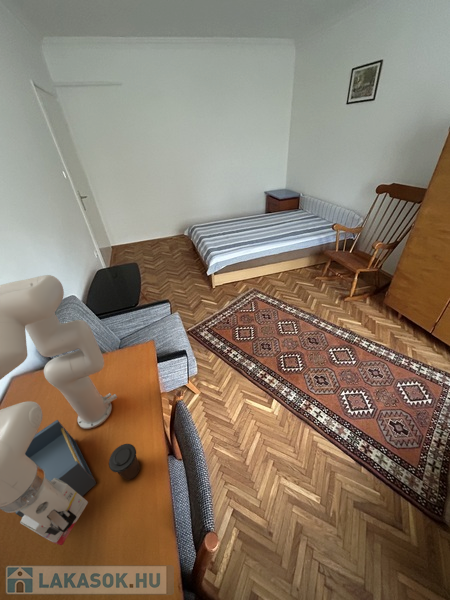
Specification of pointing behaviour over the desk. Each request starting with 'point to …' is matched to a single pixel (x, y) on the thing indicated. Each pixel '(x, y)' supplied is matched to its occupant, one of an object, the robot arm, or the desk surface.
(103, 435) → the desk surface
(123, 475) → the coffee cup
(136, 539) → the desk surface
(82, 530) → the desk surface
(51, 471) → the shelf
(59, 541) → the ink box
